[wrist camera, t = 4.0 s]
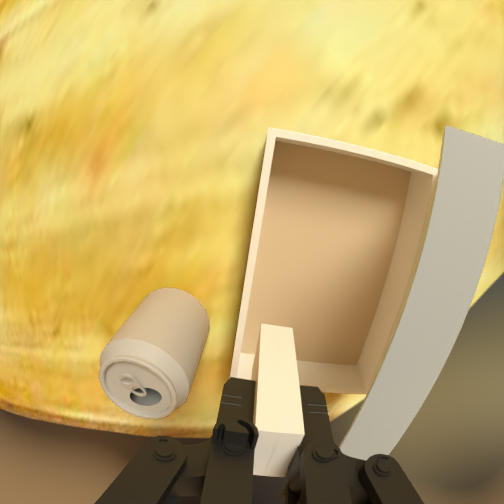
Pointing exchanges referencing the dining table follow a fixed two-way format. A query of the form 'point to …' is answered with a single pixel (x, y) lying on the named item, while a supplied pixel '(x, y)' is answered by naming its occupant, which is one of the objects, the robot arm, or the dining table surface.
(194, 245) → the dining table surface
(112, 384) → the can
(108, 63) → the dining table surface
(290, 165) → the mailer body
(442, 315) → the lid
